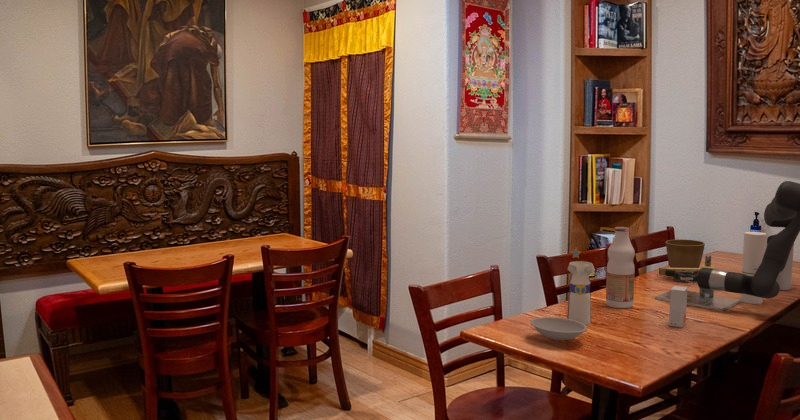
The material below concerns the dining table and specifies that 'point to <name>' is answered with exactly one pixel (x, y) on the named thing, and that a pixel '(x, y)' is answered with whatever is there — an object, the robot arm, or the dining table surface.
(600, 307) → the dining table surface
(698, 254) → the plant pot
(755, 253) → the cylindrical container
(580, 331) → the dish
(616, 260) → the fruit juice
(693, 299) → the square base plate stand
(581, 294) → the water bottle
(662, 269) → the lever handle
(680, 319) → the skincare box
